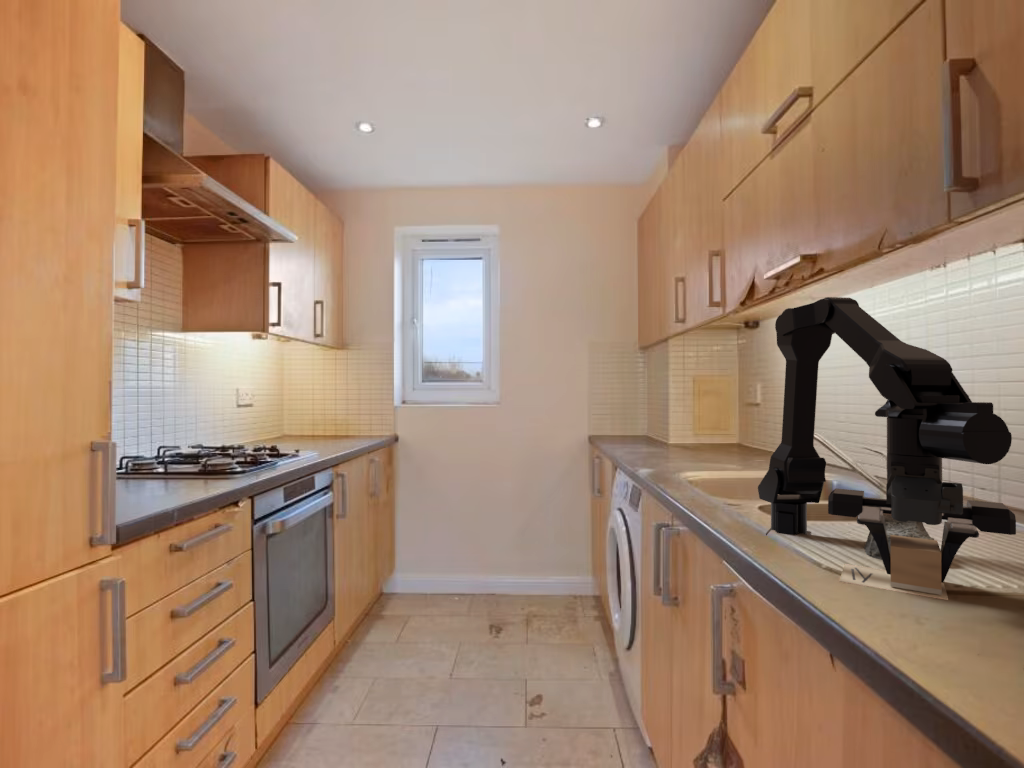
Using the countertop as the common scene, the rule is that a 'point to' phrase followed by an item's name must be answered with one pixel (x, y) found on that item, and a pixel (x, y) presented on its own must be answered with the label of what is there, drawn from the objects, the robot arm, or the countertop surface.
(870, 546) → the rock
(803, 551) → the countertop surface
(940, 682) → the countertop surface
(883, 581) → the birch board
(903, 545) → the block
